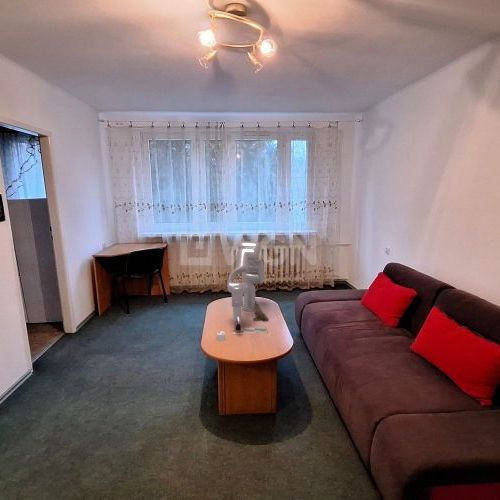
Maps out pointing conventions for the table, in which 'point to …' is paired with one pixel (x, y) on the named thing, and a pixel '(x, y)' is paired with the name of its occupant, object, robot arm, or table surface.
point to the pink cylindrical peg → (235, 327)
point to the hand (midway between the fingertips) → (237, 327)
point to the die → (221, 336)
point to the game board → (251, 330)
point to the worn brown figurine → (259, 314)
